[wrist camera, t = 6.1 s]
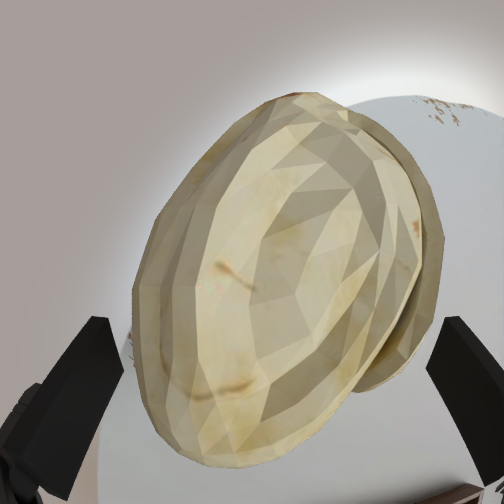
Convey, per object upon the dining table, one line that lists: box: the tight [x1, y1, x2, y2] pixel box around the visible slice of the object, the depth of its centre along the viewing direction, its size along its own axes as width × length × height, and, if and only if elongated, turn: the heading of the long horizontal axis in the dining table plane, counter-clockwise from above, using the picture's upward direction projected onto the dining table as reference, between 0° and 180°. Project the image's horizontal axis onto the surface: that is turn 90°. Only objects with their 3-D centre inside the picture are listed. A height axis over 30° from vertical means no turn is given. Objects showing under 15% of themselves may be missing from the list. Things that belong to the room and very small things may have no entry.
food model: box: [132, 92, 445, 469], centre depth 14 cm, size 10×7×20 cm
